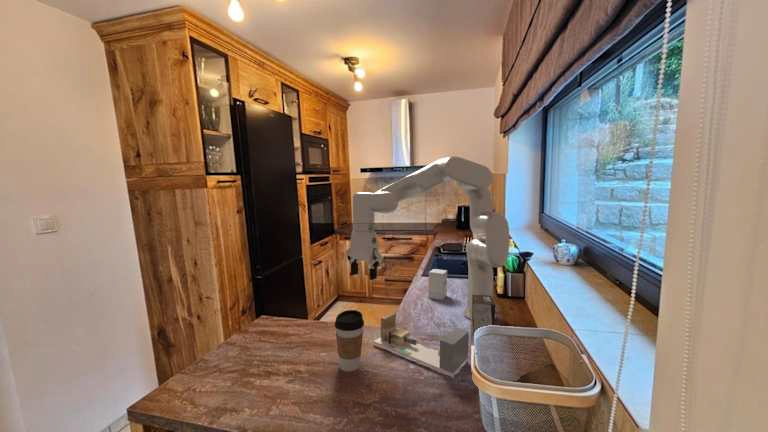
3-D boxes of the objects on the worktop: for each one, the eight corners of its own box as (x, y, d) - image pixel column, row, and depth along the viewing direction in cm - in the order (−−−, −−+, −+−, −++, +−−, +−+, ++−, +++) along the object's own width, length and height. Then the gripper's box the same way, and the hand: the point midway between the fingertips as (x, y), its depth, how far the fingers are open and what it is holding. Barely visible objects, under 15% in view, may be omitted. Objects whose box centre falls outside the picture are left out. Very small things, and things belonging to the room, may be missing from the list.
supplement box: (443, 300, 140) (443, 273, 139) (427, 298, 143) (428, 271, 142) (447, 295, 147) (447, 270, 146) (432, 293, 150) (432, 268, 149)
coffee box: (494, 356, 93) (496, 304, 92) (472, 353, 94) (473, 303, 93) (490, 341, 102) (491, 294, 100) (470, 339, 103) (471, 293, 102)
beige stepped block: (378, 341, 98) (378, 319, 98) (391, 332, 104) (391, 312, 104) (407, 353, 91) (407, 329, 91) (420, 343, 97) (421, 321, 96)
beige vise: (373, 345, 99) (373, 317, 98) (392, 334, 107) (392, 308, 106) (452, 378, 82) (453, 344, 81) (467, 362, 89) (468, 331, 89)
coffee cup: (368, 360, 90) (368, 311, 89) (357, 376, 82) (356, 323, 81) (343, 355, 93) (342, 308, 92) (329, 370, 85) (328, 319, 84)
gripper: (389, 228, 103) (389, 279, 104) (353, 225, 114) (353, 270, 115) (375, 230, 97) (375, 284, 99) (338, 226, 108) (338, 274, 109)
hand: (363, 276), depth 107 cm, fingers open, 8 cm apart
